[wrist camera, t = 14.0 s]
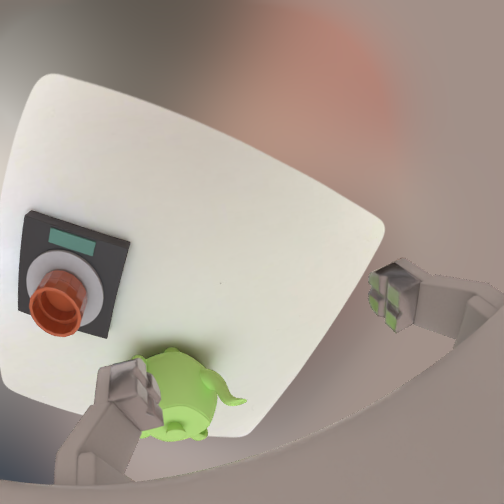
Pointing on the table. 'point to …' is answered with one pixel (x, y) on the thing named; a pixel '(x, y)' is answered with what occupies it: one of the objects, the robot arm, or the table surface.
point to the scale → (72, 265)
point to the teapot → (185, 395)
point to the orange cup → (58, 303)
